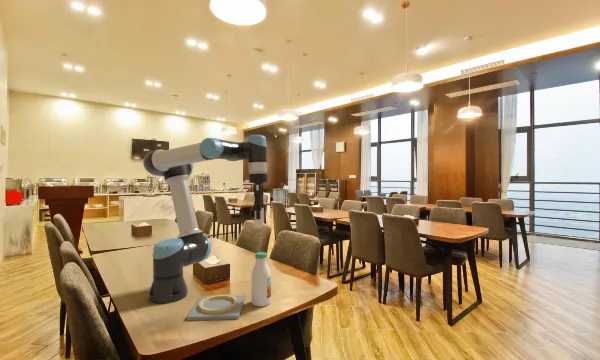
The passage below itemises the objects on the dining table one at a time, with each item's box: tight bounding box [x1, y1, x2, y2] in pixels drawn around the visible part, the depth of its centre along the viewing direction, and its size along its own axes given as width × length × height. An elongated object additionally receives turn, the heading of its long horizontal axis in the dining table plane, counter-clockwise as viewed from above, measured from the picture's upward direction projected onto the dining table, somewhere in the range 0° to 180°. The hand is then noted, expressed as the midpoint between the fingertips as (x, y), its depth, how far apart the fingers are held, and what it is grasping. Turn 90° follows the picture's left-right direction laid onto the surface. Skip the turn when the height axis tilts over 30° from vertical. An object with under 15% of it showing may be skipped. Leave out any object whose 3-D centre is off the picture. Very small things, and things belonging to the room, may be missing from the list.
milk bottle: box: [250, 251, 272, 307], centre depth 117 cm, size 8×8×20 cm
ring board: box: [186, 294, 246, 321], centre depth 112 cm, size 18×18×2 cm
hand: (259, 225), depth 119 cm, fingers open, 13 cm apart
